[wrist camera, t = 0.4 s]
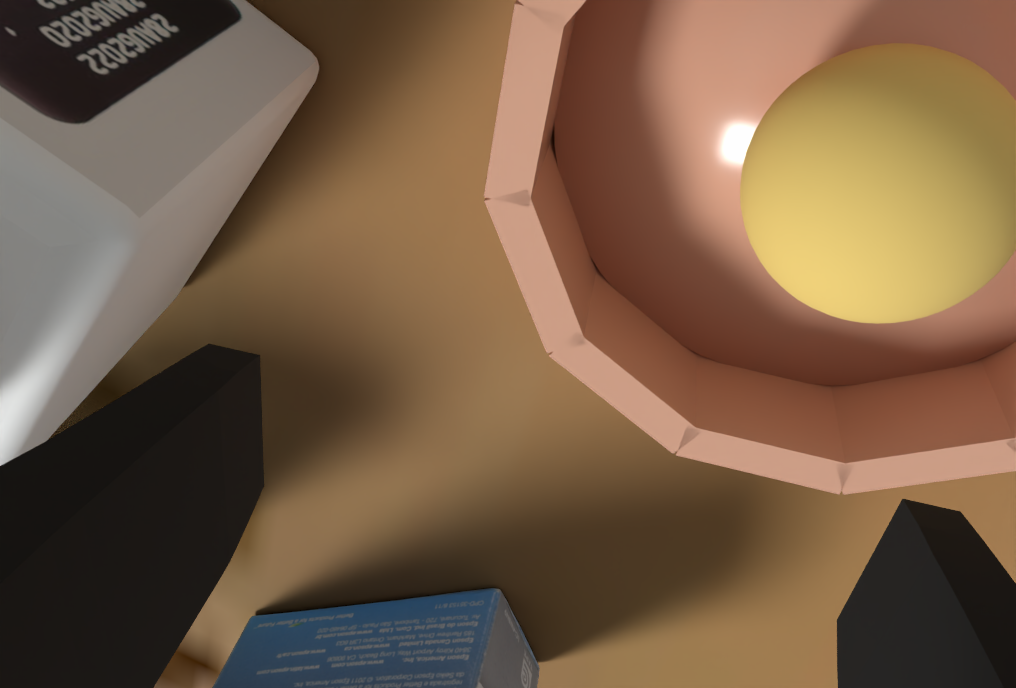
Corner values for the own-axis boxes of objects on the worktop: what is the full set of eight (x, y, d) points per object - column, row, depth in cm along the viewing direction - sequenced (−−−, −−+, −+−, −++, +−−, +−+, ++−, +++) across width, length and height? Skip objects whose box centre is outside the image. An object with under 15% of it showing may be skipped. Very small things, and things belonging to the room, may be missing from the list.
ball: (1051, 130, 16) (1152, 251, 12) (843, 285, 18) (877, 423, 15) (883, -48, 15) (940, 27, 11) (686, 141, 17) (681, 253, 14)
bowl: (1415, 102, 15) (1560, 180, 13) (814, 476, 22) (829, 577, 19) (930, -522, 12) (990, -586, 10) (401, 134, 19) (353, 201, 16)
